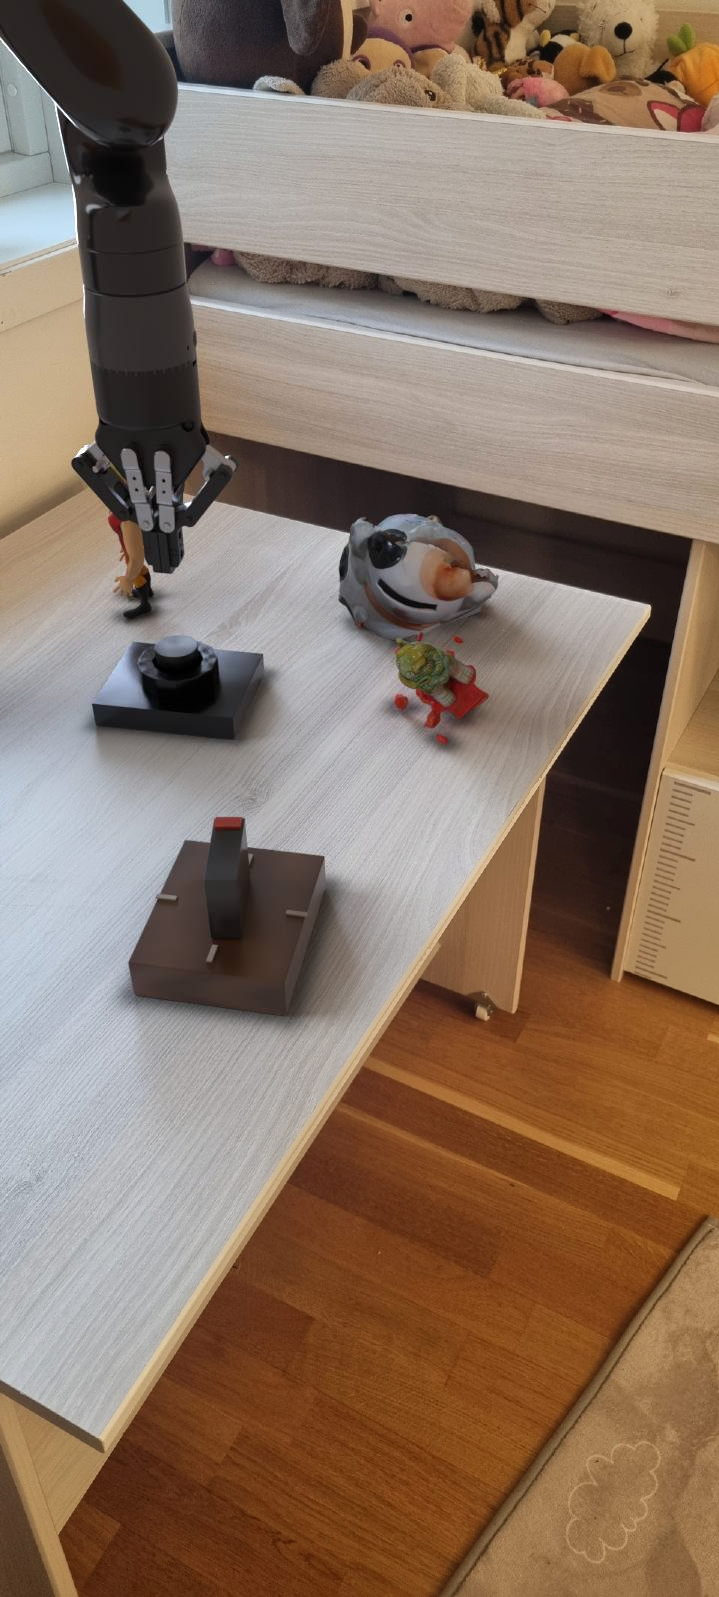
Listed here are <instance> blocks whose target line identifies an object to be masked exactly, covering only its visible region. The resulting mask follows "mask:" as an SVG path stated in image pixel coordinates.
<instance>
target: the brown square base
mask: <svg viewBox="0 0 719 1597" xmlns="http://www.w3.org/2000/svg"><path fill="white" fill-rule="evenodd" d="M209 846H210V842H209V841H199V840H192V839H184V841H183V842H182V845H181V847H180V850H179V852H178V854H177V856H176V858H175V860H174V862H173V865H172V867H171V869H170V871H169V874H168V875H167V878H166V880H165V882H164V884H163V887H162V889H161V890H160V893H156V895H155V900H156V901H155V904H154V906H153V908H152V910H151V912H150V914H149V917H148V918H147V921H146V922H145V925H144V928H143V929H142V932H141V934H140V935H139V938H138V940H137V942H136V944H135V946H134V949H133V951H132V953H131V955H130V958H129V960H128V962H127V965H128V970H129V975H130V980H131V985H132V991H133V995H134V996H138V997H145V998H146V997H147V998H153V999H154V998H155V999H160V1000H169V1001H176V1002H182V1003H189V1004H197V1005H203V1006H204V1005H205V1006H211V1007H218V1008H224V1009H232V1010H240V1011H247V1012H254V1013H262V1014H268V1015H269V1014H270V1015H277V1016H283V1017H286V1016H287V1015H288V1012H289V1009H290V1007H291V1006H290V1005H291V1002H292V999H293V996H294V992H295V989H296V987H297V983H298V980H299V976H300V973H301V969H302V966H303V963H304V961H305V956H306V953H307V950H308V947H309V943H310V940H311V937H312V935H313V930H314V928H315V924H316V920H317V918H318V914H319V911H320V908H321V904H322V902H323V898H324V895H325V891H326V889H327V884H326V857H325V855H320V854H312V853H311V854H310V853H302V852H295V851H285V850H278V849H270V848H269V849H268V848H261V847H251V846H248V857H249V868H250V879H249V887H248V895H247V903H246V911H245V919H244V927H243V935H242V938H211V936H210V928H209V920H208V912H207V903H206V895H205V887H204V876H205V870H206V864H207V858H208V852H209Z"/></svg>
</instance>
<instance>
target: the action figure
mask: <svg viewBox="0 0 719 1597" xmlns="http://www.w3.org/2000/svg"><path fill="white" fill-rule="evenodd" d="M110 466H111V467H112V468H113V469H114V470H115V472H116V473H117V474H118V475H119V476H120V477H121V478H122V480H123V481H124V482H125V483H126V484H127V485H128V483H127V481H126V480H125V479H124V478H123V477H122V475H121V474H120V473H119V472H118V470H117V469H116V468H115V467H114V466H113V464H112V463H111V462H110ZM107 521H108V525H109V526H110V528H111V530H112V531H113V532H114V533H115V534H116V535H117V537H118V541H119V544H120V546H121V547H120V550H119V553H120V556H119V558H118V561H119V562H122V561H123V560H125V561H124V562H125V565H126V569H125V574H124V575H118V576H116V577H115V578H114V582H115V583H117V582H118V584H117V586H116V587H115V588H114V589H113V590H112V592H113V594H114V593H117V592H118V590H119V589H120V592H119V596H120V597H122V596H123V595H124V596H126V597H129V596H130V597H135V596H139V599H140V604H139V605H137V606H136V607H135V608H131V609H128V610H125V611H123V613H122V616H123V618H125V619H134V618H139V617H141V616H143V615H147V614H150V613H152V610H153V609H152V608H153V607H152V605H151V603H150V599H151V598H153V597H154V595H155V594H154V591H153V589H152V576H151V572H150V570H149V568H148V567H147V566H146V565H145V555H144V547H143V538H142V531H141V528H140V527H139V526H138V525H137V524H136V523H134V522H131V521H129V520H128V521H125V522H123V521H120V520H118V519H117V518H116V516H115V515H114V514H113V513H112V512H111V511H110V510H109V511H108V517H107Z"/></svg>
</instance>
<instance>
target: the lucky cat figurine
mask: <svg viewBox="0 0 719 1597" xmlns="http://www.w3.org/2000/svg"><path fill="white" fill-rule="evenodd" d="M338 575H339V579H338V582H339V589H338V590H339V591H338V592H339V594H338V598H337V601H338V602H339V603H340V604H341V605H342V606H344V607H346V609H347V611H348V612H349V615H350V616H351V618H352V620H353V622H354V626H356V627H357V628H360V629H362V630H365V631H368V632H370V633H373V634H375V635H378V636H380V637H382V638H385V639H388V640H392V641H395V642H396V639H397V638H401V639H402V640H404V639H406V638H409V637H412V636H418V635H419V633H420V632H423V635H425V634H426V633H428V632H430V631H432V630H433V629H436V628H438V627H439V626H442V625H443V624H446V623H449V622H452V621H456V620H460V619H465V618H468V617H470V616H473V615H475V614H479V613H480V612H481V610H482V608H483V605H484V604H485V603H486V602H487V601H488V600H490V599H491V598H492V595H494V593H495V592H496V591H497V589H498V586H499V578H500V576H499V574H494V572H493V571H491V570H490V568H481V567H479V568H476V562H475V550H474V548H473V546H472V545H471V544H470V542H469V540H467V539H466V538H465V537H464V536H463V535H462V534H460V533H458V532H457V531H455V530H454V529H450V528H447V527H445V526H443V522H442V520H441V519H440V517H439V516H436V515H434V514H431V515H429V516H428V517H427V516H426V517H424V516H420V515H418V514H415V513H414V514H413V513H406V514H405V513H399V514H393V515H390V516H387V517H386V518H384V519H383V520H382V521H381V522H379V523H378V524H377V525H376V524H373V523H371V521H370V520H369V518H368V517H366V516H364V517H363V516H362V517H360V518H358V519H357V520H356V521H355V522H354V523H352V524H351V525H350V529H349V535H348V542H347V543H346V544H345V545H344V548H343V550H342V552H341V556H340V558H339V563H338Z"/></svg>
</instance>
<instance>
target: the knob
mask: <svg viewBox="0 0 719 1597" xmlns="http://www.w3.org/2000/svg"><path fill="white" fill-rule="evenodd" d="M247 835H248V834H247V825H246V818H245V817H242V816H215V817H214V818H213V823H212V830H211V835H210V846H209V852H208V858H207V864H206V870H205V876H204V887H205V895H206V903H207V912H208V920H209V928H210V936H211V938H242V935H243V927H244V919H245V911H246V903H247V895H248V887H249V879H250V868H249V857H248V847H249V846H248V836H247Z"/></svg>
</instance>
